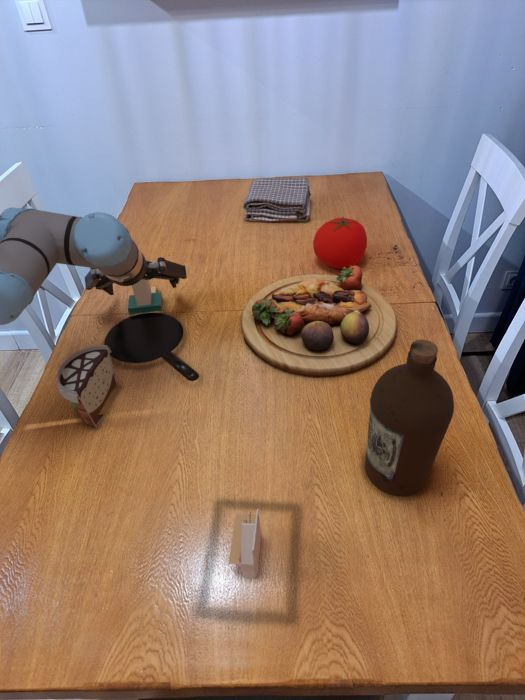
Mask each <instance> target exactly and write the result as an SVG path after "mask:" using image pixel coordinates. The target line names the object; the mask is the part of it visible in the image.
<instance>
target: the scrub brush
mask: <svg viewBox="0 0 525 700" xmlns="http://www.w3.org/2000/svg"><path fill="white" fill-rule="evenodd" d="M146 275H147V274H146ZM150 287H151V284H150V280H143V279H141V280H140V281H139V282H138V283H136V284H134V285H131V288H132V292H133V294H132V295H129V296H128V304H127V311H128V315H138V314H143V313H157V312H162V311H163V294H162V291H158V292H157V291H156V293H152V292H151V288H150Z"/></svg>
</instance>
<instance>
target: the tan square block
mask: <svg viewBox="0 0 525 700" xmlns="http://www.w3.org/2000/svg"><path fill="white" fill-rule="evenodd" d="M150 288H151V292H152V293H157V286H156V285H155V286H150Z"/></svg>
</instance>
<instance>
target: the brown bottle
mask: <svg viewBox="0 0 525 700" xmlns="http://www.w3.org/2000/svg"><path fill="white" fill-rule="evenodd" d="M438 353H439V348H438V346H437V344H436V343H434V341H433V342H432V341H431V340H428V339H416V340H414V341H412V343H411V344H410V347H409V351H408V353H407V357H406V362H405V363H402V364H399V365H395V366H393V367H391V368H389V369H388V370H386V371H384V372H383V373H382V374H381V375H380V377H379V378H378V379H377V381H376V382H375V384H374V386H373V388H372V390H371V394H370V397H369V413H368V414H369V415H368V428H367V429H368V430H367V440H366V451H365V461H364V470H365V474H366V476H367V479H369V481H370V483H371V484H372V485H373V486H374V487H375V488H376V489H378V490H380V491H381V492H383V493H385V494H388V495H390V496H395V497H408V496H412V495H414V494H417V493H419V492H420V491H421V490H423V488H425V485H426V483H427V482H428V479H429V477H430V474H431V470H432V469H433V466H434V463H435V460H436V458H437V455H438V453H439V450H440V448H441V445H442V443H443V440H444V438H445V436H446V434H447V431H448V429H449V426H450V425H451V421H452V420H453V416H454V412H455V399H454V395H453V390H452V388H451V386H450V385H449V382H448V381H447V380H446V378H444V377H443V376H442V374H440V373H439V372H438V371H436V370H435V367H436V363H437V360H438V357H437V356H438Z"/></svg>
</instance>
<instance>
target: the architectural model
mask: <svg viewBox="0 0 525 700" xmlns="http://www.w3.org/2000/svg"><path fill="white" fill-rule="evenodd" d="M259 512H260V511H259V508H256V512H255V514H251V513H252V512H251V511H249V514H245V513H243V514H242V513H235V514H234V515H235V516H234V522H233V530H232V536H231V542H230V550H229V557H228V564H229V565H240V571H241V576H242V579H243V578H246V579H256V578H257V577H258V572H259V563H260V561H259V560H260V551H261V542H262V541H261V539H262V532H261V522H260V513H259Z"/></svg>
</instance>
